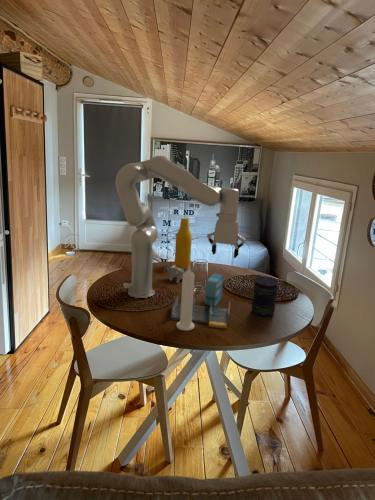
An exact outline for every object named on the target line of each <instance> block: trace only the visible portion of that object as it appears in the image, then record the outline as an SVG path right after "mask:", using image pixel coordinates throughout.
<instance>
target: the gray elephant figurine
mask: <svg viewBox="0 0 375 500" xmlns="http://www.w3.org/2000/svg"><path fill="white" fill-rule="evenodd" d="M163 272H167V273H169V281H170V282H173V280H174V279H176V281H175V282H176V284H179V283H180V280H181V279H182V280H183V273H185V269H183V268H182V269H180V268H177V267H176V265H175V264H173V265H170V266H165V268H164V270H163Z"/></svg>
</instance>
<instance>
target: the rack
mask: <svg viewBox="0 0 375 500" xmlns="http://www.w3.org/2000/svg"><path fill="white" fill-rule="evenodd" d="M179 298H180V297H179V294H177V295H176V297H175V299H174V301H173V303H172V305H171V309H170V320H174V321H175V320H176V321H180V314H181V302H179ZM196 299H197V298H196V296H193V308H192V323H199V324H208V327H211V328H217V329H228V328H227V327H229V323H230V313H231V312H230V311H231V310H230V309H231V300H228V308H224V307H223V308H221V307H216V306H215V307H213V306H212V305H213V299H211V304H210V306H208V305H199V304H198V305H197V304H196Z"/></svg>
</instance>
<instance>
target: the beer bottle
mask: <svg viewBox="0 0 375 500" xmlns="http://www.w3.org/2000/svg"><path fill="white" fill-rule="evenodd" d="M192 238H193V237H192V233H191V230H190V219H189V218H188V217H181V218H180V225H179V229H178V231H177V233H176V236H175V250H174V252H175V254H174V264H173V265H176V267H177V268H180V269H182V268H183V269H184V270H188V267H189V266H190V267H191V256H192V255H191V254H192V242H193V241H192V240H193V239H192Z"/></svg>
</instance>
